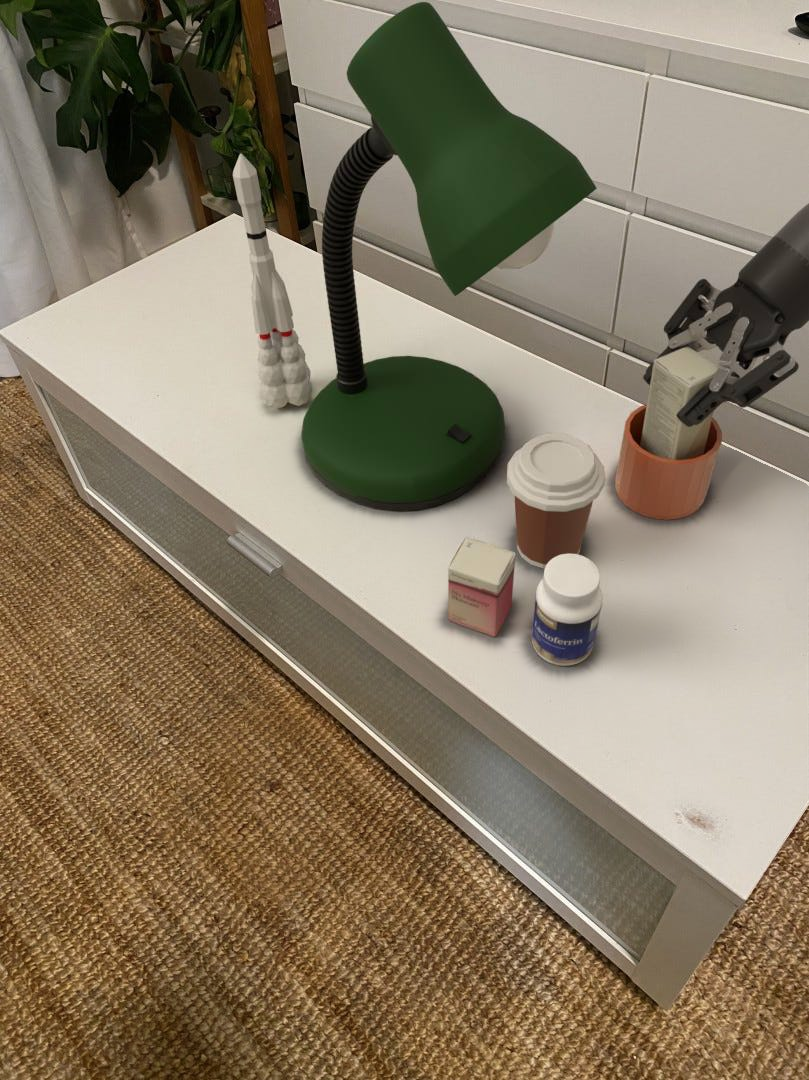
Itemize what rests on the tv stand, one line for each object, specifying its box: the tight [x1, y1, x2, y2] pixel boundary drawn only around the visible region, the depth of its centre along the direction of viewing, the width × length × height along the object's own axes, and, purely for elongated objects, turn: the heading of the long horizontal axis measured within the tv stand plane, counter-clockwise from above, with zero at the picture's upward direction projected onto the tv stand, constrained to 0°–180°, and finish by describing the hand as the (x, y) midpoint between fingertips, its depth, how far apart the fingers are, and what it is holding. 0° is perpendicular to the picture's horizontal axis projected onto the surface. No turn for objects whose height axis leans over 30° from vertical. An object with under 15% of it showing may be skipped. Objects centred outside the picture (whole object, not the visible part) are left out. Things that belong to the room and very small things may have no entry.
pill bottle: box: [531, 554, 603, 667], centre depth 76 cm, size 6×6×10 cm
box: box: [640, 346, 719, 460], centre depth 84 cm, size 5×4×11 cm
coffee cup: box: [506, 433, 606, 569], centre depth 83 cm, size 9×9×12 cm
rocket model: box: [232, 153, 313, 410], centre depth 94 cm, size 7×7×30 cm
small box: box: [447, 536, 517, 637], centre depth 79 cm, size 5×4×8 cm
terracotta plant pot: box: [614, 403, 723, 521], centre depth 89 cm, size 9×9×8 cm
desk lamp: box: [300, 1, 598, 512], centre depth 81 cm, size 31×23×45 cm
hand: (666, 402), depth 82 cm, fingers closed on box, 5 cm apart
